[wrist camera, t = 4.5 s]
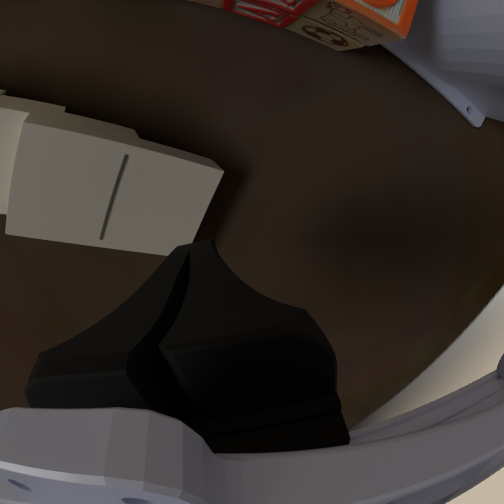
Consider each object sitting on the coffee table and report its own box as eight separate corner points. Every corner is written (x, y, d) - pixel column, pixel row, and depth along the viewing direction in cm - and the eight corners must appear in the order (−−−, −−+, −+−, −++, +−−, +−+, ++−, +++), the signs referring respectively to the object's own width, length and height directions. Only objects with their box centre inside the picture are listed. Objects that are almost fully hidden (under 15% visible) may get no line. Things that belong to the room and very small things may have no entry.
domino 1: (139, 138, 13) (-45, 101, 7) (109, 230, 15) (-57, 205, 9) (133, 129, 14) (-33, 94, 8) (105, 214, 16) (-47, 190, 10)
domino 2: (224, 171, 14) (23, 122, 9) (185, 257, 16) (5, 234, 11) (211, 159, 15) (29, 113, 10) (176, 240, 17) (10, 215, 12)
